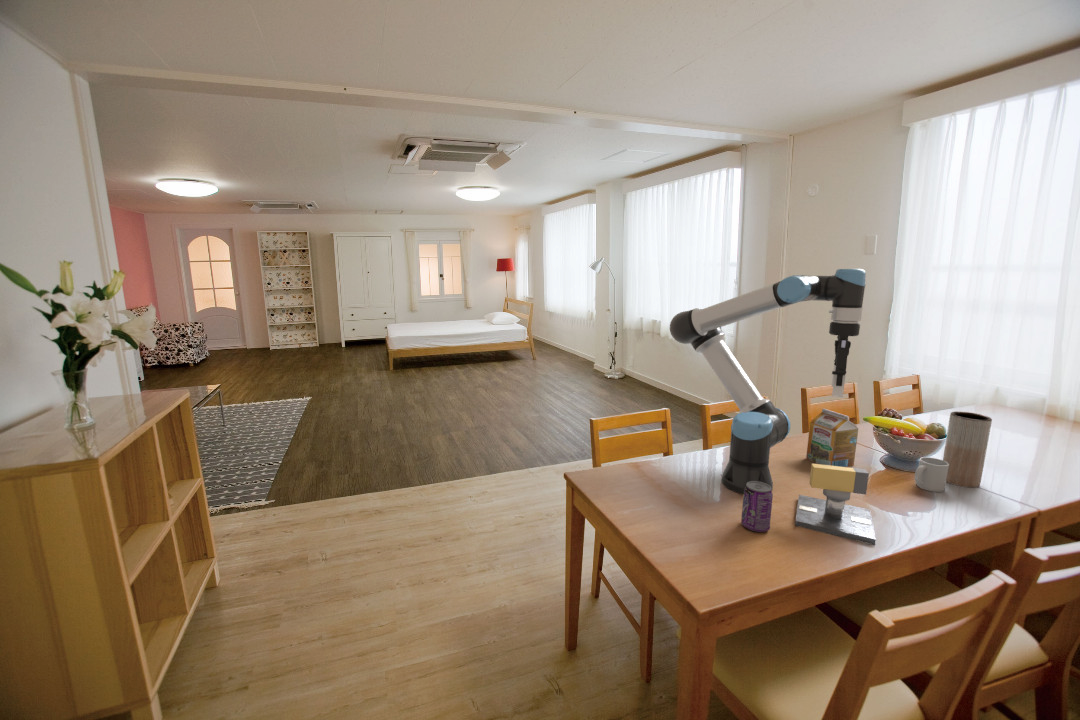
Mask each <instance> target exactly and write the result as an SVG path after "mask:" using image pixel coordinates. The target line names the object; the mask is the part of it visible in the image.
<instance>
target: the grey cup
mask: <svg viewBox="0 0 1080 720" xmlns="http://www.w3.org/2000/svg"><path fill="white" fill-rule="evenodd" d="M918 462H919V463H918V467H917V468H916V470H915V473H914V482H915V484H916V486H917V487H918V488H919V489H922V490H925V491H928V492H932V493H942V492H944V491H945V489H946V484H947V482H946V479H947V473H948V467H949V464H948V463H947V462H945V461H943V459H939V458H937V457H936V458H935V457H929V456H924V457H923V456H922V457H919V461H918Z"/></svg>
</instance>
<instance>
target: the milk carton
mask: <svg viewBox="0 0 1080 720" xmlns="http://www.w3.org/2000/svg"><path fill="white" fill-rule="evenodd" d="M858 427H859V426H857V425H856V424H855V423H854V422H852V421H850V417H849V415H845V414H842V413H838V412H836V411H832V410H830V409H826V408H822V409H821V412H820V413H819V414H817V415H816V416H815V417H813V419H811V421H810V422H809V428H808V438H807V447H806V454H805V455H806V456H805V459H806V458H807V459H806V460H808V459H809V461H811V462H813V463H814V464H821V465H830V466H839V467H848V468H851V467H854V466H855V457H856V451H857V450H856V449H857V443H858V442H857V441H858V434H859V428H858Z"/></svg>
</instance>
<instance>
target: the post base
mask: <svg viewBox="0 0 1080 720" xmlns="http://www.w3.org/2000/svg"><path fill="white" fill-rule="evenodd" d="M825 498H826V499H822V498H816V497H812V496H807V495H803V494H798V499H797V507H796V513H795V515H796V516H795V523H794V526H795V527H800V528H802V529H803V528H804V529H807V530H811V531H816V532H820V533H823V534H829V535H832V536H836V537H841V538H844V539H849V540H852V541H857V542H861V543H865V544H869V545H874V546H875V545H876V541H877V540H876V539H877V538H876V534H875V528H874V522H873V516H872V511H871V509H868V508H866V507H865V508H864V507H860V506H854V505H851V504H846V501H839V500H834V499H831V498H828V497H826V496H825Z"/></svg>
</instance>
